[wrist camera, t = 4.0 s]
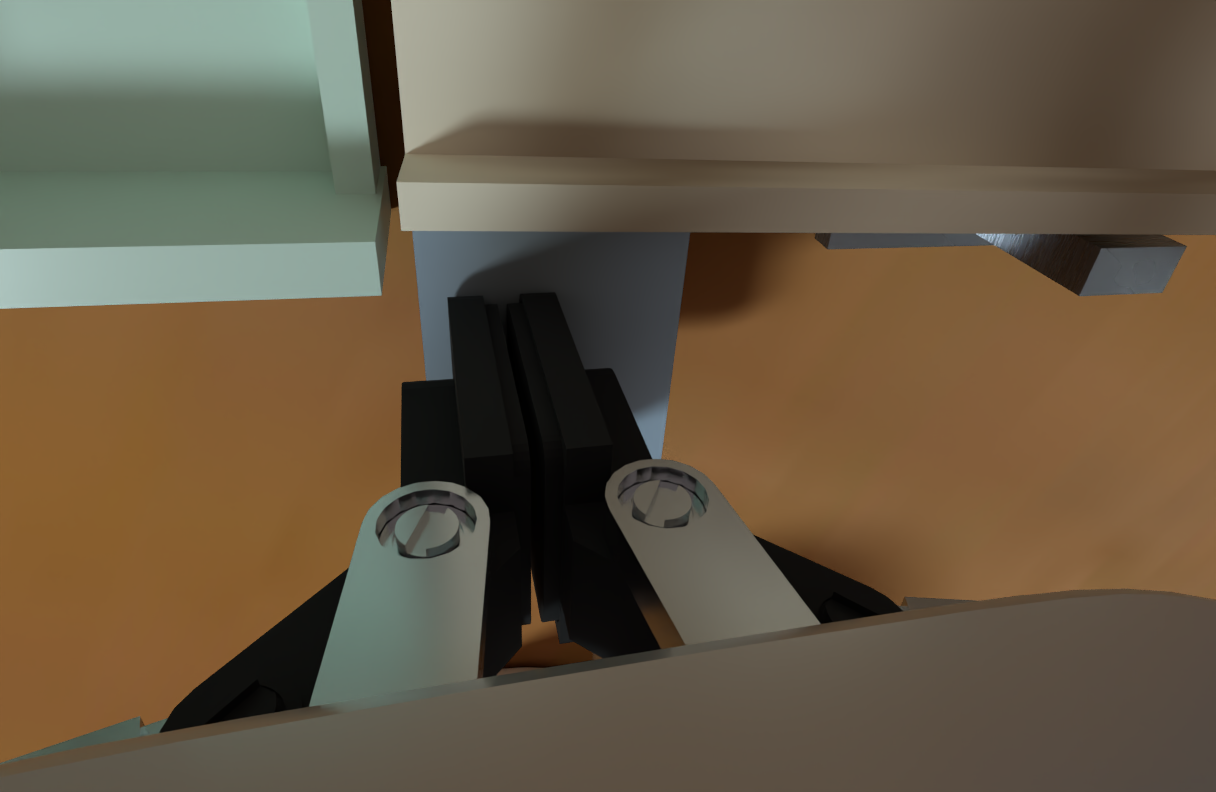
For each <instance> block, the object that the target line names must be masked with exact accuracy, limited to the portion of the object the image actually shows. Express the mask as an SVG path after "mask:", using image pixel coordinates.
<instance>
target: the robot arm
mask: <svg viewBox="0 0 1216 792" xmlns="http://www.w3.org/2000/svg"><path fill="white" fill-rule="evenodd" d="M447 302H448V317H449V331H450V345H451V359H452V373H453V379H443V380H428V381H414V382H403V383H402V409H401V488H397V489H396V490H394V491H392V492H390V493H389V494H387V495H385V496H383V497H381V498H380V499H379V500H378V501H377V502H376V503H375V504H374V505H373V506H372V507H371V508H370V509H369V511H368V512H367V514H366V516H365V518H364V520H363V522H362V525H361V528H360V532H359V535H358V539H357V542H356V546H355V549H354V552H353V556H352V559H351V563H350V566H349V568H348V569H347V570H345V571H344V572H343V573H342V574H340V575H339V576H338V577H337V578H335V579H334V580H333V581H331V582H330V583H329V584H328V585H326V586H325V587H324V588H323V589H321V590H320V591H319V592H317V593H316V594H315V595H314V596H312V597H311V598H310V599H309V600H307V601H306V602H305V603H303V604H302V605H301V606H300V607H298V608H297V609H296V610H294V611H293V612H292V613H291V614H289V615H288V616H287V617H286V618H284V619H283V620H282V621H280V622H279V623H278V624H277V625H275V626H274V627H273V628H272V629H270V630H269V631H268V632H266V633H265V634H264V635H263V636H261V637H260V638H259V639H257V640H256V641H255V642H254V643H252V644H251V645H250V646H249V647H247V648H246V649H245V650H243V651H242V652H241V653H240V654H238V655H237V656H236V657H235V658H233V659H232V660H231V661H229V662H228V663H227V664H226V665H224V666H223V667H222V668H220V669H219V670H218V671H217V672H215V673H214V674H213V675H212V676H210V677H209V678H208V679H206V680H205V681H204V682H203V683H201V684H200V685H199V686H198V687H196V688H195V689H194V690H193V691H192V692H191V693H190V694H189V695H188V696H187V697H185V698H184V699H183V700H182V701H181V702H180V703H179V704H178V705H177V706H176V707H175V708H174V710H173V711H172V713H171V714H170V716H169V717H168V718H167V719H164V720H161V721H158V722H155V723H152V724H149V725H147V726H145V725H144V723H143V721H142V719H141V717H140V716H139V717H136V718H133V719H130V720H127V721H124V722H121V723H118V724H115V725H112V726H109V727H106V728H103V729H100V730H98V731H95V732H92V733H89V734H86V735H83V736H80V737H77V738H74V739H71V740H68V741H65V742H62V743H59V744H56V745H53V746H50V747H47V748H44V749H41V750H38V751H35V752H32V753H29V754H26V755H23V756H20V757H17V758H14V759H11V760H8V761H5V762H2V763H0V792H1216V600H1214V599H1209V598H1203V597H1197V596H1192V595H1186V594H1180V593H1175V592H1166V591H1152V590H1137V589H1095V590H1069V591H1060V592H1052V593H1043V594H1032V595H1020V596H1011V597H1004V598H997V599H989V600H982V601H973V600H954V599H935V598H917V597H904V600H903V602H902V604H901V606H897V605H896V604H895V603H894V602H893V601H891V600H890V599H889V598H888V597H886V596H885V595H883V594H881V593H879V592H878V591H876V590H874V589H872V588H871V587H869V586H866V585H864V584H862V583H860V582H857V581H855V580H853V579H851V578H849V577H846V576H844V575H842V574H840V573H837V572H835V571H833V570H831V569H828V568H826V567H824V566H822V565H819V564H817V563H815V562H813V561H811V560H808V559H806V558H804V557H802V556H799V555H797V554H795V553H793V552H790V551H788V550H786V549H784V548H782V547H779V546H777V545H775V544H773V543H770V542H768V541H766V540H764V539H761V538H759V537H757V536H755V535H753V534H752V533H751V532H750V530H749V529H748V528H747V526H746V525H745V524H744V522H743V521H742V520H741V518H740V517H739V516H738V514H737V513H736V512H735V510H734V509H733V508H732V507H731V505H730V504H729V503H728V501H727V500H726V499H725V497H724V496H723V495H722V493H721V492H720V491H719V489H718V488H717V487H716V485H715V484H714V483H713V482H712V481H711V480H710V479H709V478H708V477H707V476H706V475H705V474H703V473H702V472H700V471H698V470H696V469H695V468H693V467H691V466H689V465H686V464H683V463H679V462H676V461H672V460H663V459H652V457H651V454H650V452H649V450H648V448H647V445H646V443H645V441H644V438H643V436H642V434H641V432H640V429H639V427H638V425H637V423H636V420H635V418H634V416H633V413H632V411H631V409H630V407H629V404H628V402H627V400H626V397H625V395H624V393H623V391H622V388H621V386H620V384H619V382H618V379H617V377H616V375H615V373H614V371H613V370H612V369H611V368H599V369H584V367H583V364H582V361H581V359H580V356H579V353H578V351H577V348H576V345H575V343H574V340H573V338H572V335H571V332H570V330H569V327H568V324H567V322H566V319H565V316H564V314H563V311H562V308H561V306H560V303H559V301H558V298H557V295H556V293H555V292H549V293H528V294H520V296H519V303H510V304H507V345H506V340H505V336H504V331H503V327H502V322H501V318H500V314H499V309H498V305H497V304H488V305H485V304H484V299H483V296H461V297H447ZM531 570H532V575H533V581H534V586H535V592H536V597H537V602H538V608H539V613H540V618H541V621H542V622H547V621H554V620H555V623H556V628H557V633H558V638H559V642H560V644H562V643H569V642H575V643H577V644H579V645H580V646H582V647H584V648H586V649H587V650H589V651H591V652H592V653H593V658H592V660H591V661H585V662H579V663H573V664H566V665H560V666H554V667H548V668H542V669H535V670H529V671H523V672H517V673H511V674H504V675H498V676H497V674H498V673H499V671H500V670H501V669H502V668H503V667H504V666H505V665H506V664H507V662H508V661H509V660H510V659H511V658H512V657H513V656H514V654H515V653H516V652H517V651H518V650H519V649H520V648H521V647H522V625H526V624H530V623H531Z"/></svg>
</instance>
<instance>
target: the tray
mask: <svg viewBox="0 0 1216 792" xmlns="http://www.w3.org/2000/svg"><path fill="white" fill-rule="evenodd" d="M390 217H391V203H390V194H389V185H388V176H387V167H386V166H380V157H379V148H378V140H377V131H376V122H375V113H374V104H373V95H372V86H371V78H370V69H369V60H368V51H367V42H366V33H365V24H364V16H363V7H362V0H0V309H2V308H31V307H61V306H90V305H119V304H148V303H177V302H206V301H235V300H264V299H294V298H323V297H352V296H381V295H382V289H383V280H384V271H385V262H386V253H387V244H388V235H389V226H390Z"/></svg>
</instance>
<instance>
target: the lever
mask: <svg viewBox="0 0 1216 792" xmlns="http://www.w3.org/2000/svg"><path fill="white" fill-rule="evenodd" d="M391 6H392V17H393V28H394V39H395V49H396V60H397V71H398V82H399V92H400V103H401V114H402V124H403V135H404V146H405V156H404V159H403V163H402V166H401V169H400V172H399V175H398V179H397V182H396V183H397V193H398V203H399V212H400V222H401V231H412V232H413V242H414V253H415V264H416V275H417V285H418V296H419V307H420V317H421V328H422V339H423V350H424V360H425V371H426V381H428V380H443V379H453V373H452V359H451V345H450V331H449V317H448V302H447V297H461V296H483V299H484V304H485V305H488V304H497V305H498V309H499V314H500V318H501V322H502V327H503V331H504V336H505V340H506V345H507V304H510V303H519V296H520V294H528V293H549V292H555V293H556V295H557V298H558V301H559V303H560V306H561V308H562V311H563V314H564V316H565V319H566V322H567V324H568V327H569V330H570V332H571V335H572V338H573V340H574V343H575V345H576V348H577V351H578V353H579V356H580V359H581V361H582V364H583V367H584V369H599V368H611V369H612V370H613V371H614V373H615V375H616V377H617V379H618V382H619V384H620V386H621V388H622V391H623V393H624V395H625V397H626V400H627V402H628V404H629V407H630V409H631V411H632V413H633V416H634V418H635V420H636V423H637V425H638V427H639V429H640V432H641V434H642V436H643V438H644V441H645V443H646V445H647V448H648V450H649V452H650V454H651V457H652V459H661V455H662V447H663V440H664V432H665V424H666V416H667V409H668V401H669V393H670V385H671V377H672V370H673V362H674V354H675V346H676V339H677V331H678V323H679V315H680V307H681V300H682V292H683V284H684V276H685V269H686V261H687V253H688V245H689V237H690V232H742V233H946V234H1150V235H1216V0H391Z"/></svg>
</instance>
